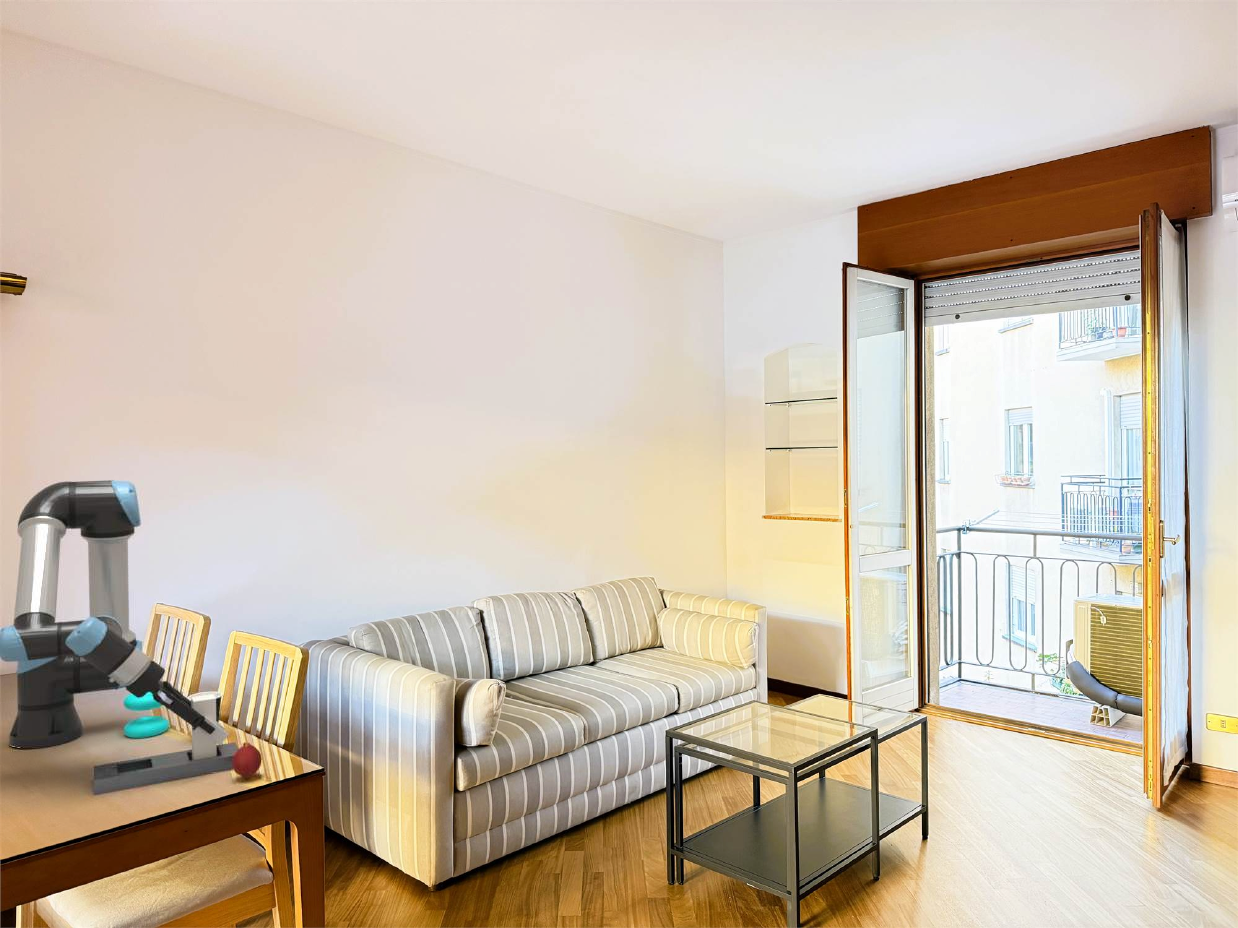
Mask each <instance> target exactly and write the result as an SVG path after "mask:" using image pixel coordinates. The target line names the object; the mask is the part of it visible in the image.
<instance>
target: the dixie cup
mask: <svg viewBox="0 0 1238 928" xmlns="http://www.w3.org/2000/svg"><path fill="white" fill-rule="evenodd" d="M210 694H214V696H215V698H216V721H217V722H218V723H219V724H220V713H221V704H222V697H223V693H222V692H220V691H202V692H197V693H193V694H191V695H188V696H187V697H186V698H187V699H189V700H190V701H191V697H196V696H203V695H210ZM190 726H191V727H192V725H190Z"/></svg>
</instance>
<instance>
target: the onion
mask: <svg viewBox="0 0 1238 928" xmlns="http://www.w3.org/2000/svg"><path fill="white" fill-rule="evenodd" d="M262 759H263V758H262V755H261V752H260V750H259V749H258V748H257V747H256V746H254V745H253V744H251V743H250V742H248V741H244V742H243V743H242V746H241V747H239V749H238V751H237V752H236V753H235V755H234V757H233V760H232V766H233V769H232V770H233V771H234V773H236V774H237V775H238V776H240V777H242V778H243V779H244V778H245V779H246V780H248V779H250V778H251V777H252V776H254V775H255V774H256V773H257V772H258V771H259V769H260V767H261V766H262ZM247 778H248V779H247ZM245 779H244V780H245Z"/></svg>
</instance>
